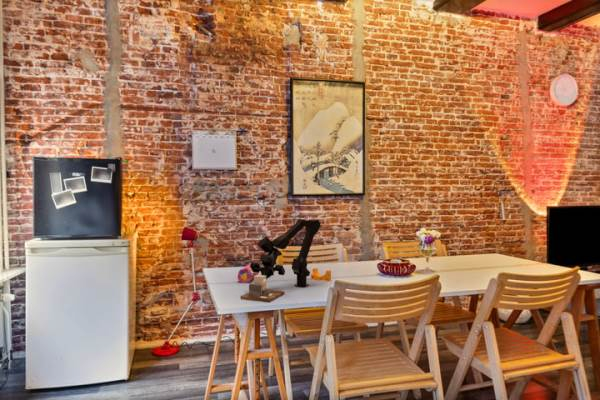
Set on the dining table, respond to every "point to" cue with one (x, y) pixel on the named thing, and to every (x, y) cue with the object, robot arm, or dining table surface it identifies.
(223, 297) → the dining table surface
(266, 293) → the reading marker
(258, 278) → the block
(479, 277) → the dining table surface
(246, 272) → the pencil case
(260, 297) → the gauge base
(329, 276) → the pipe clamp
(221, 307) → the dining table surface
